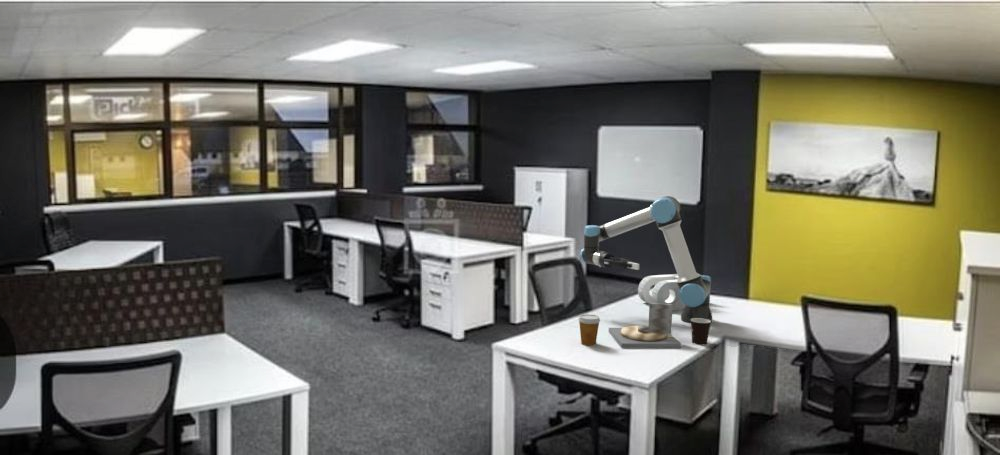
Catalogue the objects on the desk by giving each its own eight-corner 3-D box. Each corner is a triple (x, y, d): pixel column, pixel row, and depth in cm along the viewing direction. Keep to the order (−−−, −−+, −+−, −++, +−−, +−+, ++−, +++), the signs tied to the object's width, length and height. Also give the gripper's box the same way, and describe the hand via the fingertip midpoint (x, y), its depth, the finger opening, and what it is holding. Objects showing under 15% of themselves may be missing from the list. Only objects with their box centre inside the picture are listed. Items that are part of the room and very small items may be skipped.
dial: (620, 339, 313) (621, 306, 311) (621, 327, 332) (622, 296, 330) (671, 342, 308) (673, 309, 307) (670, 330, 328) (671, 299, 326)
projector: (656, 311, 375) (657, 282, 374) (637, 303, 393) (638, 276, 391) (711, 306, 388) (713, 279, 386) (691, 299, 405) (692, 273, 403)
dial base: (663, 331, 334) (663, 327, 334) (680, 347, 309) (681, 342, 308) (608, 331, 333) (608, 326, 332) (621, 348, 307) (621, 342, 307)
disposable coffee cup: (603, 343, 313) (604, 316, 312) (590, 347, 306) (591, 320, 305) (586, 339, 320) (586, 313, 318) (573, 343, 313) (573, 316, 311)
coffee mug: (706, 346, 312) (707, 324, 310) (686, 343, 316) (688, 321, 315) (713, 340, 321) (715, 318, 320) (694, 337, 326) (695, 315, 325)
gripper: (613, 265, 358) (647, 273, 338) (593, 268, 350) (627, 276, 331) (614, 250, 357) (648, 257, 337) (594, 252, 349) (628, 260, 330)
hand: (638, 266), depth 334 cm, fingers closed
